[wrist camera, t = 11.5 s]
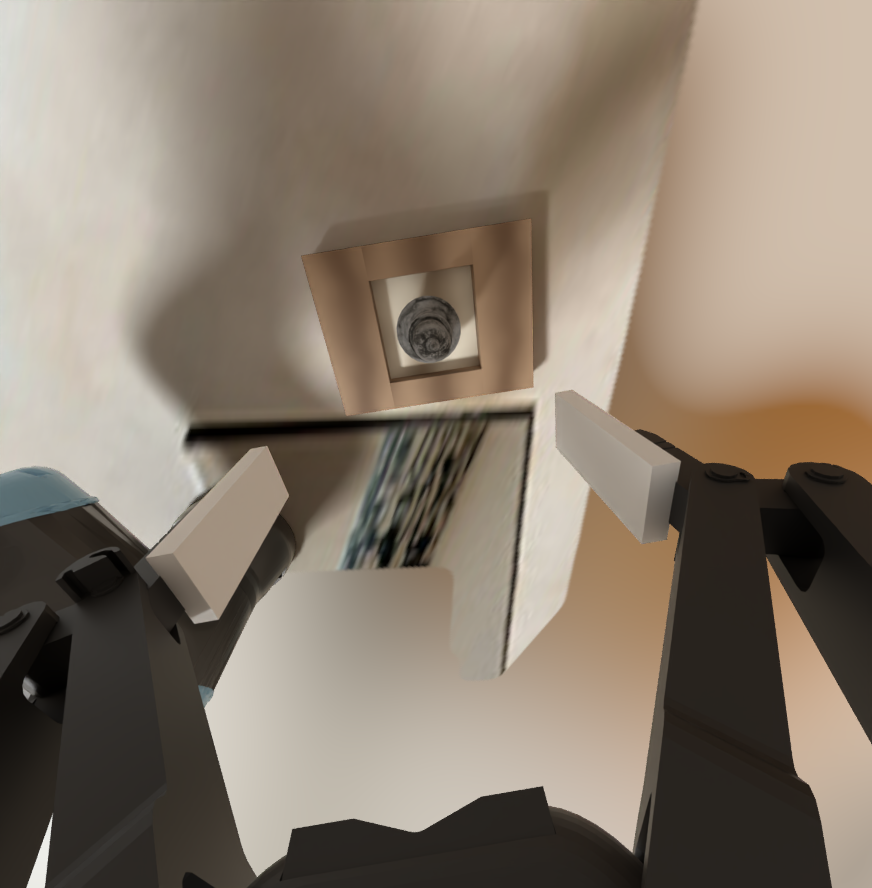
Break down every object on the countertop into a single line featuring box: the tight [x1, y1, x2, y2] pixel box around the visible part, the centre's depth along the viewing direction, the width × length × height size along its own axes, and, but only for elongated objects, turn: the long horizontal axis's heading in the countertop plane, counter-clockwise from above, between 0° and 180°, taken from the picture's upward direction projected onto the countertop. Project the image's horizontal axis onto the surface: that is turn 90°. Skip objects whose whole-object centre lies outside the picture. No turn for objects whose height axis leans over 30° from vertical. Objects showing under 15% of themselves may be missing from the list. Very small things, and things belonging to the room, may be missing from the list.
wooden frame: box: [301, 218, 533, 416], centre depth 33 cm, size 20×15×3 cm
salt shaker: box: [396, 296, 461, 363], centre depth 28 cm, size 6×6×12 cm
